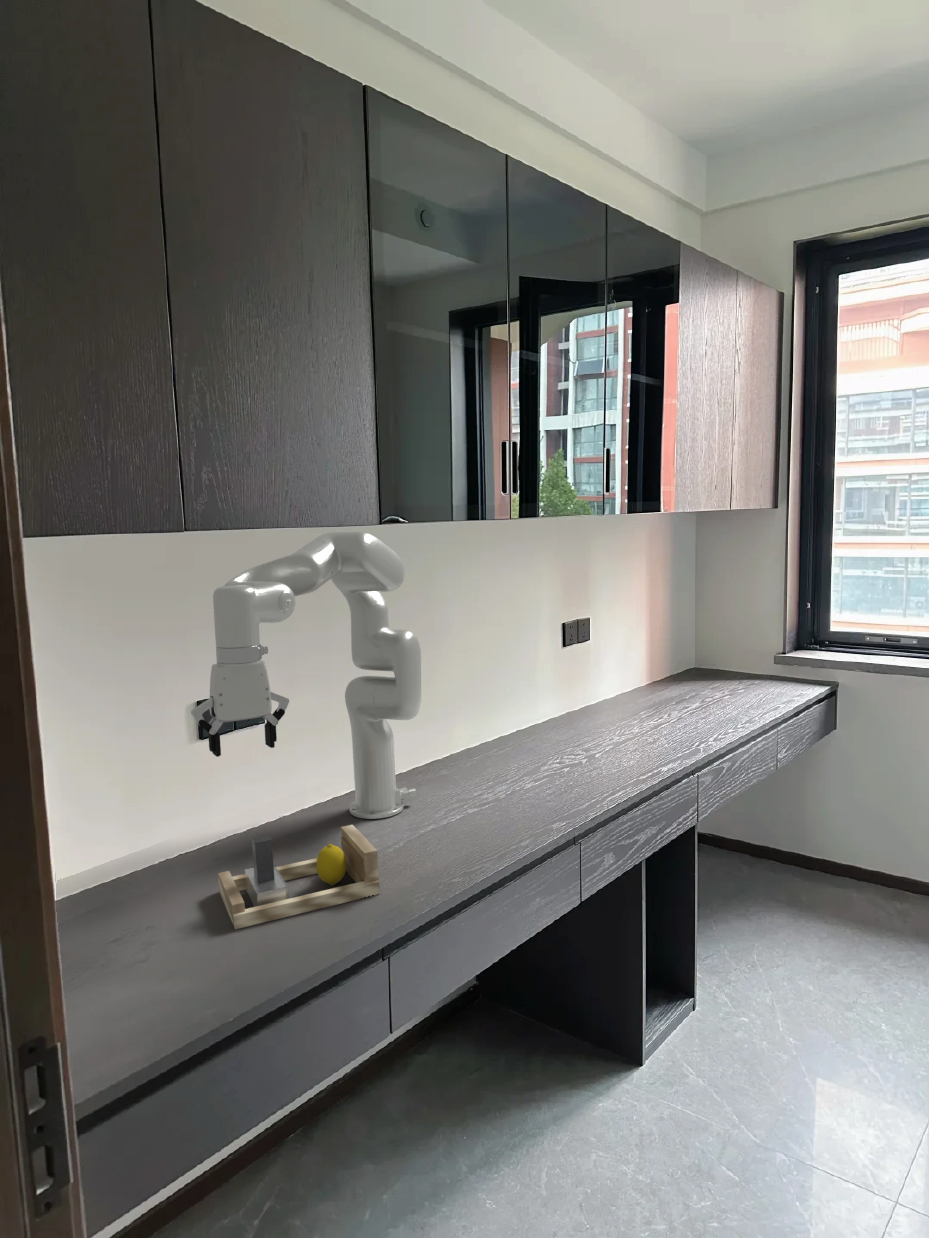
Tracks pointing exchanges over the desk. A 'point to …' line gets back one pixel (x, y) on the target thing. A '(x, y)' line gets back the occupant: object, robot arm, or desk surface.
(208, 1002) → the desk surface
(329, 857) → the lemon
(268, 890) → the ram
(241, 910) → the press frame
